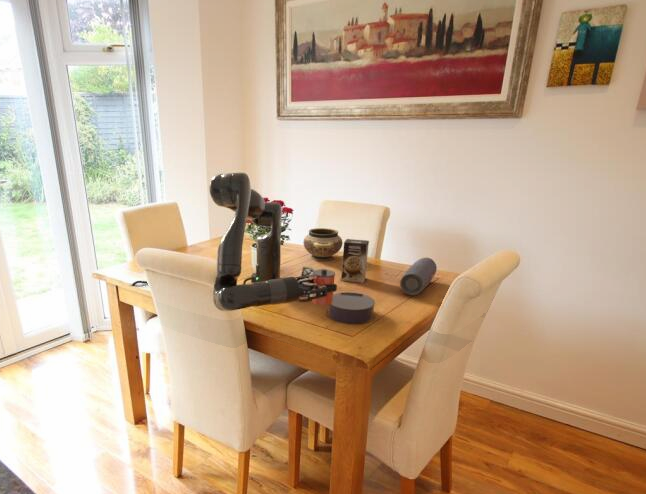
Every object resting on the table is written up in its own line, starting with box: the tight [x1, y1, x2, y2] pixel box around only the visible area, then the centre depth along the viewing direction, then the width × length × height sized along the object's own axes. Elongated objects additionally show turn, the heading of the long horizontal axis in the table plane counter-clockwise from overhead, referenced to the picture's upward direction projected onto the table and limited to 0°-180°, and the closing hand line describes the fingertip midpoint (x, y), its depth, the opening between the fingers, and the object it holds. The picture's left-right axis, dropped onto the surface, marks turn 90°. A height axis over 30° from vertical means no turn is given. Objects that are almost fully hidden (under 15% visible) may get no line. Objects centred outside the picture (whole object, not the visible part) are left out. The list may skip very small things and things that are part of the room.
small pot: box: [311, 268, 336, 306], centre depth 140 cm, size 7×7×10 cm
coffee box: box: [340, 238, 370, 284], centre depth 185 cm, size 9×6×16 cm
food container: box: [299, 266, 316, 302], centre depth 170 cm, size 12×6×10 cm, turn 168°
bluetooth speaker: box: [399, 257, 438, 296], centre depth 175 cm, size 23×9×10 cm, turn 147°
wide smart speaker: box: [327, 292, 376, 324], centre depth 155 cm, size 15×15×5 cm
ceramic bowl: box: [303, 227, 344, 262], centre depth 215 cm, size 24×18×15 cm
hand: (330, 283), depth 141 cm, fingers closed on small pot, 6 cm apart
